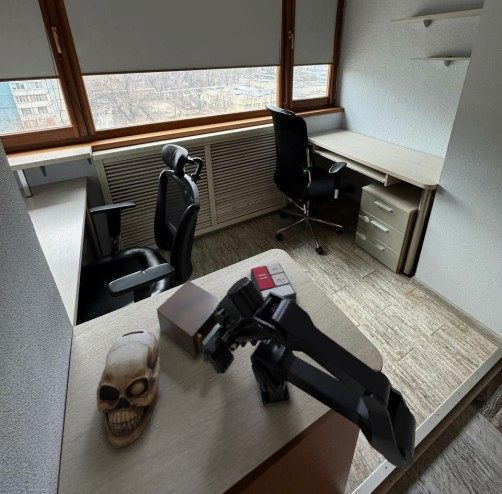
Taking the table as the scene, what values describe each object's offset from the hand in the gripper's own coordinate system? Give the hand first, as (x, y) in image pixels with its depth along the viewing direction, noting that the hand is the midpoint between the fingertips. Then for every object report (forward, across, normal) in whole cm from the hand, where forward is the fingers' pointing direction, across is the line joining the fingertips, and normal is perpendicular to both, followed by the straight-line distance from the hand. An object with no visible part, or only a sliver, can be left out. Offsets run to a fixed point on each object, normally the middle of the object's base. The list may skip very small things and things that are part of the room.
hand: (220, 331), depth 70 cm
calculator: (+4, -25, +6) cm, 26 cm away
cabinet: (+12, 0, -3) cm, 13 cm away
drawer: (+8, 0, 0) cm, 8 cm away
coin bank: (+13, +19, -3) cm, 23 cm away
